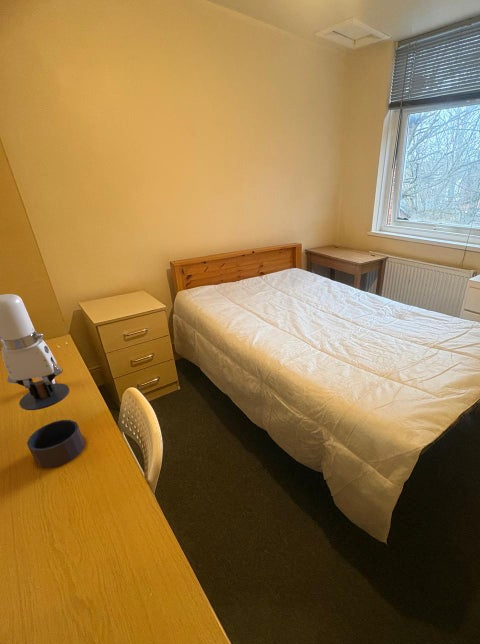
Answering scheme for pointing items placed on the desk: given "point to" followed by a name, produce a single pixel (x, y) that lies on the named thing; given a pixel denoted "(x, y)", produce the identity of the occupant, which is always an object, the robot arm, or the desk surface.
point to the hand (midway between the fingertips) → (44, 394)
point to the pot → (56, 443)
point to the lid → (44, 396)
